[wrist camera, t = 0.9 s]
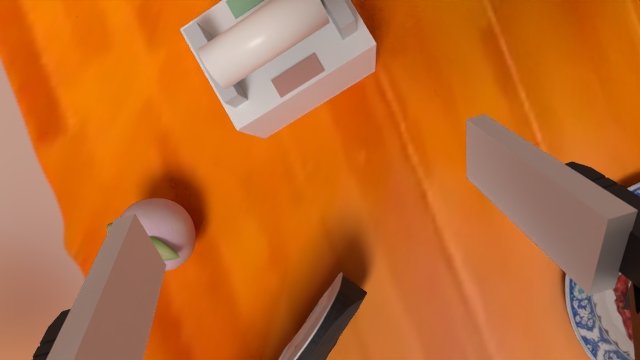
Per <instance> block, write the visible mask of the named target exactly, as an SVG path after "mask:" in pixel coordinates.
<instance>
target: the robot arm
mask: <svg viewBox="0 0 640 360" xmlns="http://www.w3.org/2000/svg"><path fill="white" fill-rule="evenodd" d="M466 133H467V179H468V180H469V181H470V182H471V183H472V184H474V185H475V186H476V187H477V188H478V189H479V190H480V191H481V192H482V193H483V194H484V195H485V196H486V197H487V198H488V199H489V200H490V201H491V202H492V203H493V204H494V205H495V206H496V207H497V208H498V209H499V210H501V211H502V212H503V213H504V214H505V215H506V216H507V217H508V218H509V219H510V220H511V221H512V222H513V223H514V224H515V225H516V226H517V227H518V228H519V229H520V230H521V231H522V232H523V233H524V234H525V235H526V236H528V237H529V238H530V239H531V240H532V241H533V242H534V243H535V244H536V245H537V246H538V247H539V248H540V249H541V250H542V251H543V252H544V253H545V254H546V255H547V256H548V257H549V258H550V259H551V260H552V261H553V262H555V263H556V264H557V265H558V266H559V267H560V268H561V269H562V270H563V271H564V272H565V273H566V274H567V275H568V276H569V277H570V278H571V279H572V280H573V281H574V282H575V283H576V284H577V285H578V286H579V287H580V288H582V289H583V290H584V291H585V292H586V293H587V294H588V295H589V296H590V295H593V294H597V293H600V292H603V291H606V290H610V289H613V288H615V286H616V282H617V279H618V275H619V272H620V273H621V274H622V275H624V276H625V277H626V278H627V279H628V280H630V281H631V284H630V287H629V290H628V293H627V296H626V299H625V302H624V306H623V309H624V310H628V308H629V305H630V311H631V322H632V333H633V343H634V354H635V360H640V196H638V195H637V194H635V193H633V192H632V191H630V190H628V189H627V188H625V187H623V186H622V185H617V183H616V182H615V181H613V180H611V179H610V178H606V177H605V175H603V174H601V173H600V172H598V171H596V170H594V169H593V168H591V167H588V166H585V165H582V164H578V163H575V162H569V163H566V164H563V163H562V162H560V161H558V160H557V159H555V158H554V157H552V156H551V155H549V154H547V153H546V152H544V151H543V150H541V149H539V148H538V147H536V146H535V145H533V144H531V143H530V142H528V141H527V140H525V139H524V138H522V137H520V136H519V135H517V134H516V133H514V132H512V131H511V130H509V129H508V128H506V127H504V126H503V125H501V124H500V123H498V122H497V121H495V120H493V119H492V118H490V117H489V116H487V115H485V114H484V115H480V116H477V117H473V118H470V119H466ZM165 269H166V263H165V262H164V260H163V258H162V257H161V255H160V254H159V252H158V250H157V249H156V247H155V245H154V244H153V242H152V240H151V239H150V237H149V235H148V234H147V232H146V230H145V229H144V227H143V225H142V224H141V222H140V221H139V219H138V217H137V216H136V214H135V213H134V214H130V215H127V216H123V217H120V218H116V219H115V220H114V222H113V224H112V226H111V228H110V230H109V232H108V234H107V236H106V238H105V240H104V242H103V244H102V246H101V248H100V251H99V253H98V255H97V257H96V259H95V261H94V263H93V265H92V267H91V269H90V271H89V273H88V275H87V277H86V279H85V281H84V283H83V285H82V287H81V289H80V292H79V294H78V296H77V298H76V300H75V302H74V304H73V306H72V308H71V309H69V310H66V311H63V312H61V313H60V314H59V316H58V317H57V318H56V319H55V320H54V322H53V323H52V324H51V325H50V326H49V327H48V329H47V331H46V333H45V335H44V336H43V338H42V340H41V342H40V346H39V347H38V348H37V350H36V351H35V353H34V355H33V360H143V359H144V355H145V351H146V347H147V343H148V339H149V335H150V331H151V327H152V322H153V318H154V314H155V310H156V306H157V302H158V298H159V294H160V290H161V286H162V282H163V277H164V273H165Z"/></svg>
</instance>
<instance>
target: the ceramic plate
mask: <svg viewBox="0 0 640 360" xmlns="http://www.w3.org/2000/svg"><path fill="white" fill-rule="evenodd" d="M627 189H628V190H630V191H632V192H633V193H635V194H637V195H638V196H640V182H639V183H637V184H635V185H632V186H630V187H628V188H627ZM630 284H631V281H630V280H628V279H627V278H626V277H625V276H624V275H622V274H621V273H620V272H619V275H618V279H617V282H616V286H615V288H613V289H610V290H606V291H603V292H600V293H597V294H593V295H590V296H589V295H588V294H587V293H586V292H585V291H584V290H583V289H582V288H580V287H579V286H578V285H577V284H576V283H575V282H574V281H573V280H572V279H571V278H570V277H569V276H568V275H567V274H566V276H565V298H566V307H567V311H568V315H569V318H570V322H571V325H572V327H573V330H574V332H575V334H576V336H577V338H578V340H579V342H580V344H581V345H582V347H583V348H584V350H585V351H586V353H587V354H588V356H589V357H590V358H591V359H592V360H635V354H634V343H633V333H632V322H631V311H630V305H629V308H628V310H624V309H623V306H624V302H625V299H626V296H627V293H628V290H629V287H630Z"/></svg>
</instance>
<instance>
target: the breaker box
mask: <svg viewBox="0 0 640 360" xmlns="http://www.w3.org/2000/svg"><path fill="white" fill-rule="evenodd" d="M269 1H271V0H222V1H221V2H219V3H218V4H216V5H215V6H213V7H212V8H210V9H209V10H208V11H206V12H205V13H203V14H202V15H200V16H199V17H197V18H196V19H194V20H193V21H191V22H190V23H188V24H187V25H186V26H184V27H183V28H181V29H180V30H181V32H182V34H183V36H184V38H185V39H186V41H187V43H188V45H189V46H190V48H191V50H192V52H193V53H194V55H195V57H196V59H197V60H198V62H199V64H200V66H201V68H202V69H203V71H204V73H205V75H206V76H207V78H208V80H209V82H210V83H211V85H212V87H213V89H214V90H215V92H216V94H217V96H218V97H219V99H220V101H221V103H222V105H223V106H224V108H225V110H226V112H227V113H228V115H229V117H230V119H231V120H232V122H233V124H234V126H235V127H236V129H237V131H241V132H244V133H248V134H251V135H254V136H258V137H261V138H264V139H265V138H267V137H268V136H270V135H272V134H273V133H275V132H277V131H278V130H280V129H282V128H283V127H285V126H286V125H288V124H290V123H291V122H293V121H295V120H296V119H298V118H299V117H301V116H303V115H304V114H306V113H308V112H309V111H311V110H313V109H314V108H316V107H317V106H319V105H321V104H322V103H324V102H326V101H327V100H329V99H330V98H332V97H334V96H335V95H337V94H339V93H340V92H342V91H344V90H345V89H347V88H348V87H350V86H352V85H353V84H355V83H357V82H358V81H360V80H362V79H363V78H365V77H366V76H368V75H370V74H371V73H373V72H375V65H376V42H375V41H374V39H373V37H372V35H371V34H370V32H369V30H368V29H367V27H366V25H365V24H364V22H363V20H362V19H361V17H360V15H359V14H358V12H357V10H356V8H355V7H354V5H353V3H352V2H351V0H320V1H321V3H322V5H323V7H324V9H325V11H326V13H327V15H328V18H329V20H330V23H329V24H327V25H326V26H324V27H323V28H321V29H319V30H318V31H316V32H315V33H313V34H312V35H310V36H309V37H307V38H305V39H304V40H302V41H301V42H299V43H298V44H296V45H295V46H293V47H291V48H290V49H288V50H287V51H285V52H284V53H282V54H281V55H279V56H277V57H276V58H274V59H273V60H271V61H270V62H268V63H267V64H265V65H263V66H262V67H260V68H259V69H257V70H256V71H254V72H253V73H251V74H249V75H248V76H246V77H245V78H243V79H242V80H240V81H239V82H237V83H236V84H234V85H232V86H231V87H229V88H228V89H224V88H223V87H221V86H220V85H219V84H218V83H217V81H216V80H215V79H214V78H213V77H212V75H211V74H210V73H209V71H208V70H207V68H206V67H205V65H204V63H203V61H202V59H201V57H200V55H199V52H198V49H199V48H200V47H202V46H203V45H205V44H206V43H208V42H209V41H211V40H212V39H214V38H215V37H217V36H218V35H220V34H221V33H223V32H224V31H226V30H227V29H229V28H230V27H232V26H233V25H235V24H236V23H238V22H239V21H241V20H242V19H244V18H245V17H247V16H248V15H250V14H251V13H253V12H254V11H256V10H257V9H259V8H260V7H262V6H263V5H265V4H266V3H268V2H269Z"/></svg>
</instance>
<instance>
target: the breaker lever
mask: <svg viewBox="0 0 640 360" xmlns="http://www.w3.org/2000/svg"><path fill="white" fill-rule="evenodd" d="M329 23H330V20H329V18H328V15H327V13H326V11H325V9H324V7H323V5H322V3H321V1H320V0H271V1H269V2H268V3H266V4H265V5H263V6H262V7H260V8H259V9H257V10H256V11H254V12H253V13H251V14H250V15H248V16H247V17H245V18H244V19H242V20H241V21H239V22H238V23H236V24H235V25H233V26H232V27H230V28H229V29H227V30H226V31H224V32H223V33H221V34H220V35H218V36H217V37H215V38H214V39H212V40H211V41H209V42H208V43H206V44H205V45H203V46H202V47H200V48H199V49H198V52H199V55H200V57H201V59H202V61H203V63H204V65H205V67H206V68H207V70H208V71H209V73H210V74H211V75H212V77H213V78H214V79H215V80H216V81H217V83H218V84H219V85H220V86H221V87H223V88H224V89H228V88H229V87H231V86H232V85H234V84H236V83H237V82H239V81H240V80H242V79H243V78H245V77H246V76H248V75H249V74H251V73H253V72H254V71H256V70H257V69H259V68H260V67H262V66H263V65H265V64H267V63H268V62H270V61H271V60H273V59H274V58H276V57H277V56H279V55H281V54H282V53H284V52H285V51H287V50H288V49H290V48H291V47H293V46H295V45H296V44H298V43H299V42H301V41H302V40H304V39H305V38H307V37H309V36H310V35H312V34H313V33H315V32H316V31H318V30H319V29H321V28H323V27H324V26H326V25H327V24H329Z"/></svg>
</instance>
